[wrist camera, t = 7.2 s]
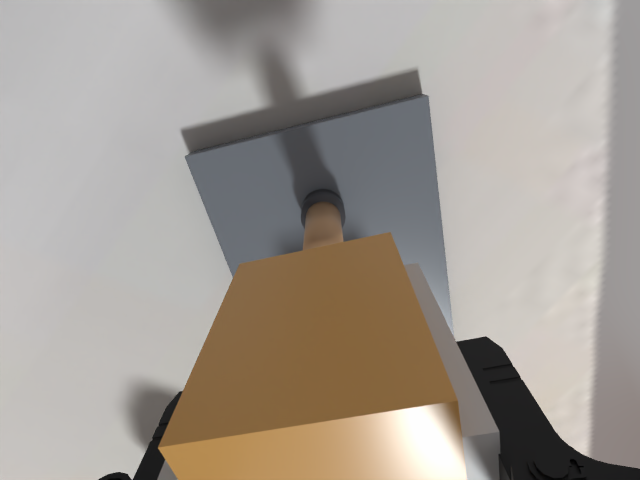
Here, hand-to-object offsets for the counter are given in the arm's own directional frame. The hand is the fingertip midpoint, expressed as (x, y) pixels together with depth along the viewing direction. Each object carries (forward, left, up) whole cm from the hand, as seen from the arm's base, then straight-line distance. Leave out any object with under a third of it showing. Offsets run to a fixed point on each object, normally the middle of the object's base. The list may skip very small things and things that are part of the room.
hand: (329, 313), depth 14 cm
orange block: (0, 0, 0) cm, 0 cm away
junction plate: (+6, 0, -11) cm, 13 cm away
